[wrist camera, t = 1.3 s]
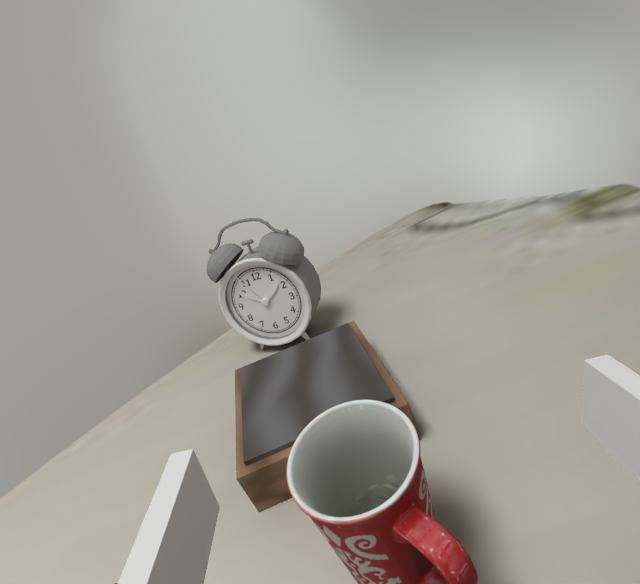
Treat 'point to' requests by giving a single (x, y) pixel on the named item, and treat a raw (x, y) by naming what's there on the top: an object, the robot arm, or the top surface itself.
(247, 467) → the walnut stand
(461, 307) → the top surface
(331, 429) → the mug
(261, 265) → the alarm clock
